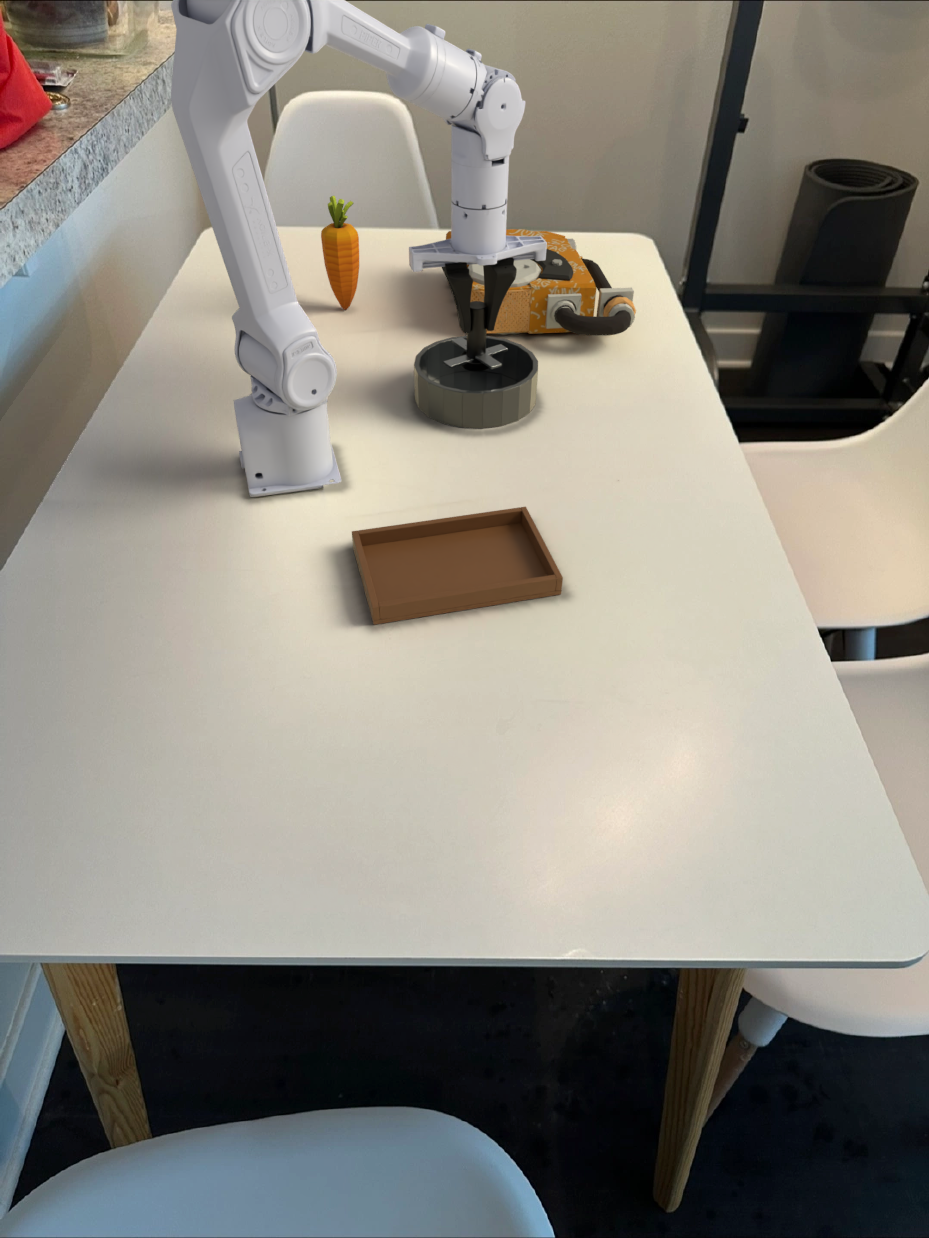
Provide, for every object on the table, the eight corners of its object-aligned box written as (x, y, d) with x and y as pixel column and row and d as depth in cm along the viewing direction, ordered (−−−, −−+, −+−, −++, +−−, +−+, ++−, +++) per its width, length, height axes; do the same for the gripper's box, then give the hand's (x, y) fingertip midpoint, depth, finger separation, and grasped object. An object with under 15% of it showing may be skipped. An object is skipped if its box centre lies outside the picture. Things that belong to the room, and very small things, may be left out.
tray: (373, 625, 79) (372, 607, 78) (353, 547, 87) (351, 531, 86) (561, 594, 83) (563, 577, 81) (524, 522, 91) (525, 506, 89)
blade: (450, 384, 101) (450, 323, 96) (434, 352, 107) (433, 293, 102) (519, 376, 103) (522, 316, 98) (499, 345, 108) (502, 287, 104)
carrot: (330, 301, 129) (320, 189, 119) (365, 302, 129) (358, 190, 119) (325, 316, 125) (314, 202, 115) (361, 317, 125) (353, 203, 115)
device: (594, 212, 133) (649, 295, 111) (588, 268, 139) (640, 359, 117) (439, 216, 131) (465, 303, 109) (440, 274, 136) (464, 367, 114)
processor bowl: (430, 440, 102) (429, 399, 98) (404, 380, 112) (403, 342, 109) (551, 424, 105) (554, 385, 101) (515, 368, 115) (517, 330, 111)
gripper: (417, 219, 88) (420, 350, 98) (559, 208, 91) (549, 337, 100) (403, 196, 93) (407, 323, 103) (538, 186, 96) (530, 310, 105)
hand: (476, 328), depth 102 cm, fingers closed on blade, 2 cm apart
